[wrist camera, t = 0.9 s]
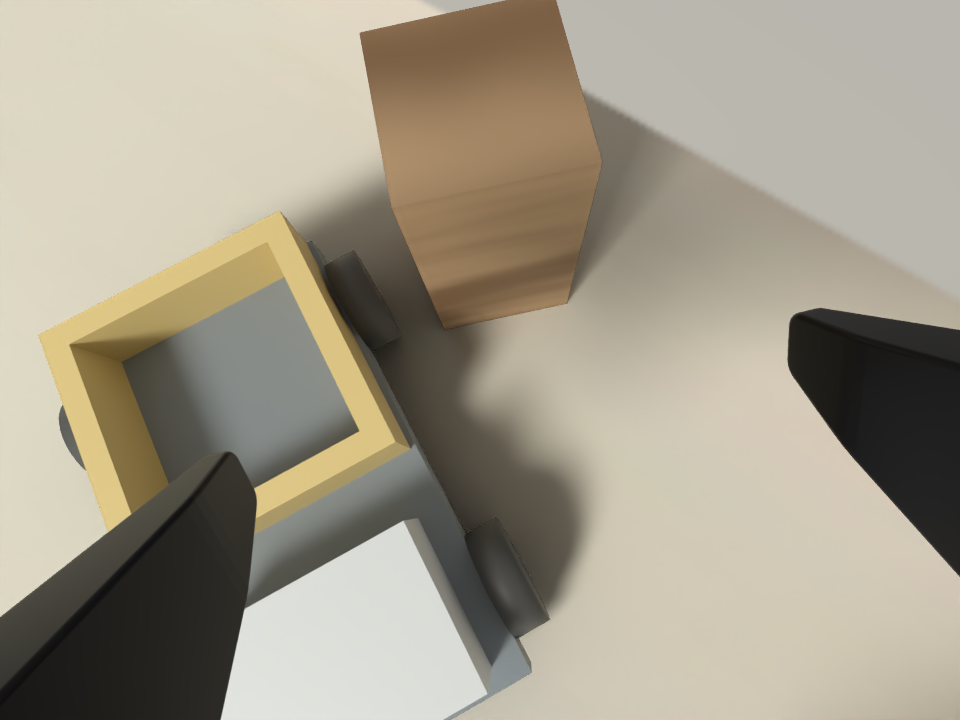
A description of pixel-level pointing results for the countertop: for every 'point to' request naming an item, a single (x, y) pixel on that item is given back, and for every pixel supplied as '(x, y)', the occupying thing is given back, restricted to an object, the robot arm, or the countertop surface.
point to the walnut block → (485, 154)
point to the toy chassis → (299, 479)
